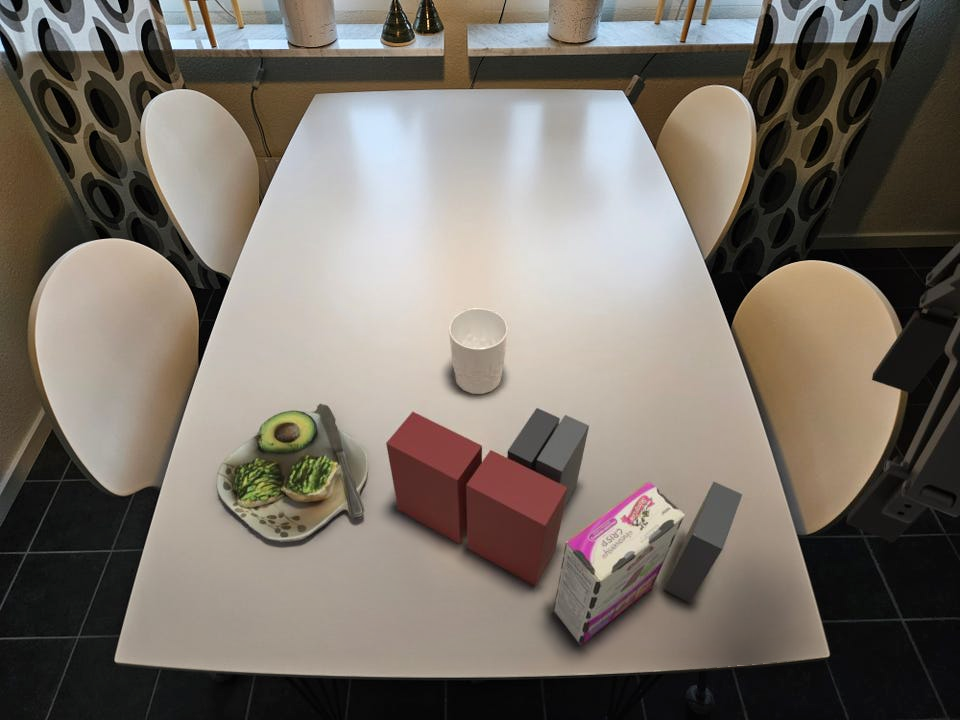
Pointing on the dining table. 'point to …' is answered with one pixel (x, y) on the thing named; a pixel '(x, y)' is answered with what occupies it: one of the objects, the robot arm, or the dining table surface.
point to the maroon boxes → (476, 496)
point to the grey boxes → (560, 460)
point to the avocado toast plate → (294, 475)
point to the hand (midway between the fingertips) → (881, 449)
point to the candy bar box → (615, 561)
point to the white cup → (478, 349)
